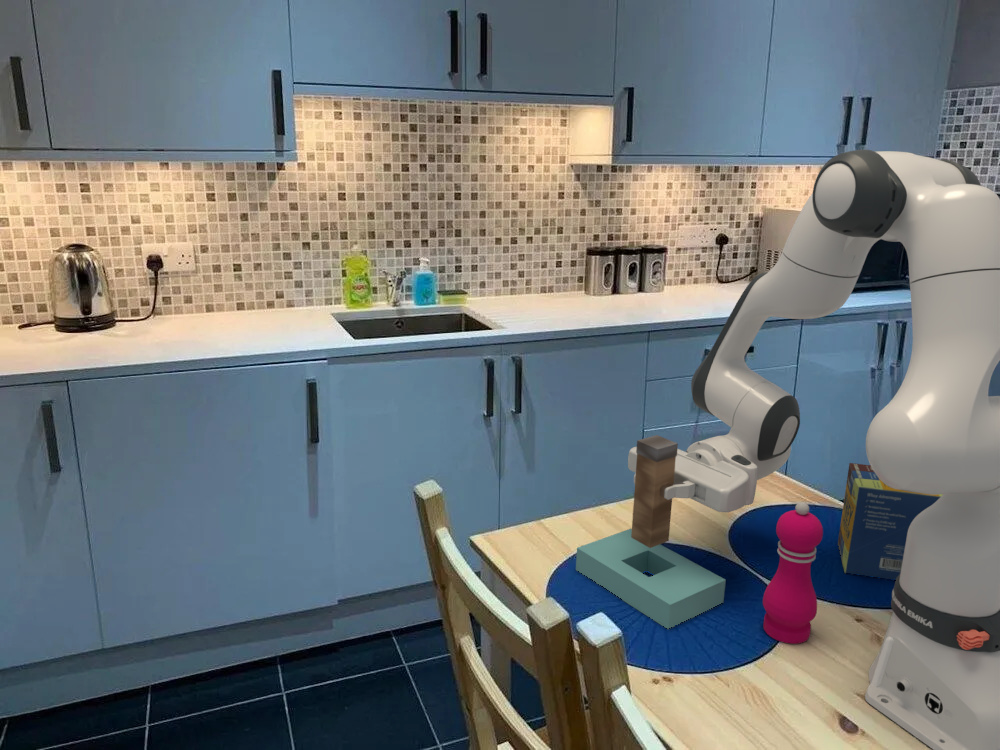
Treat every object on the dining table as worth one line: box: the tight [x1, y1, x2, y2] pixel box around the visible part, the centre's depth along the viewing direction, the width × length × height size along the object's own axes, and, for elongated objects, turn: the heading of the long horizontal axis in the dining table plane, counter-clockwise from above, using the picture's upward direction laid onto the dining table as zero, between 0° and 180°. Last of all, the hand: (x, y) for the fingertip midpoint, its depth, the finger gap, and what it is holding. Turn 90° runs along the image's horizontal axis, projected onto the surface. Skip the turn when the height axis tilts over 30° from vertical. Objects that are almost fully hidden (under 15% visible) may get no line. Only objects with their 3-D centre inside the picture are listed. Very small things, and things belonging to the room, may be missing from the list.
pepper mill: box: [762, 501, 824, 645], centre depth 111 cm, size 7×7×20 cm
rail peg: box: [631, 434, 679, 548], centre depth 121 cm, size 4×4×16 cm
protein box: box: [837, 462, 943, 581], centre depth 130 cm, size 10×15×16 cm
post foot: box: [575, 528, 727, 630], centre depth 125 cm, size 20×12×4 cm, turn 36°
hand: (649, 486), depth 120 cm, fingers closed on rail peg, 4 cm apart
